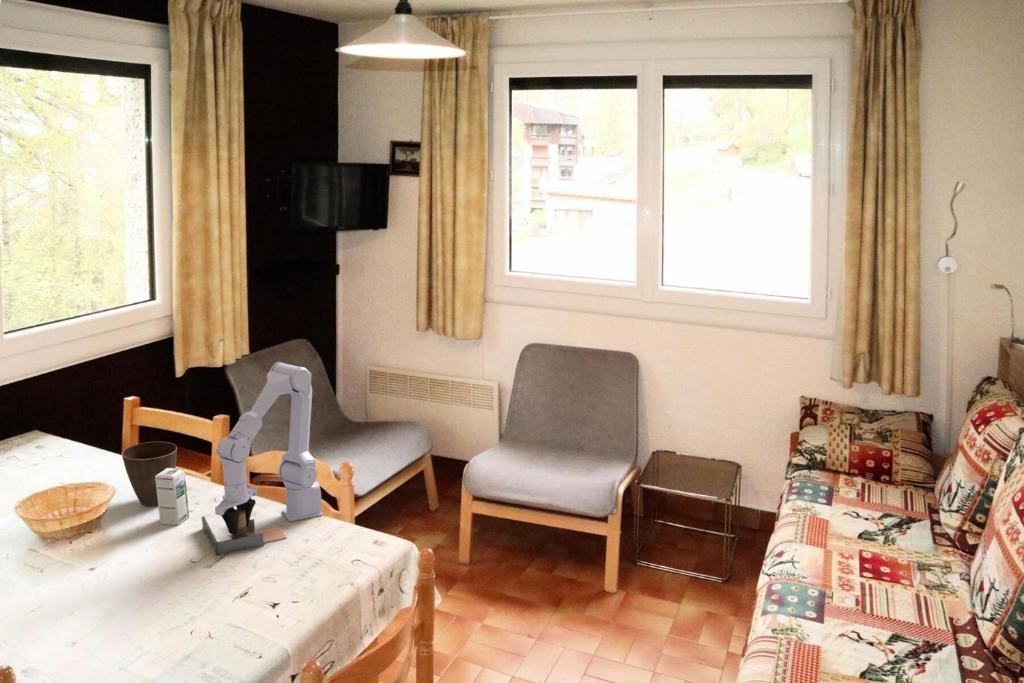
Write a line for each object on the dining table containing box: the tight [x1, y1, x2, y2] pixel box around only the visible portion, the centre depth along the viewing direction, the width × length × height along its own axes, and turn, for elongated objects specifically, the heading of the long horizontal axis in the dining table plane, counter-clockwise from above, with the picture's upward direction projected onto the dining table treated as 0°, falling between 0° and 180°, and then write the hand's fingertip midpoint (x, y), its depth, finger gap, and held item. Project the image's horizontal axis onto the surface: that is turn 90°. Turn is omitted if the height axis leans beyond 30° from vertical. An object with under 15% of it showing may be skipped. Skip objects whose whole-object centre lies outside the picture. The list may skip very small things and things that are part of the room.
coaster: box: [253, 526, 288, 544], centre depth 252 cm, size 7×7×1 cm
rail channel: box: [201, 516, 265, 557], centre depth 251 cm, size 12×18×4 cm
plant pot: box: [121, 441, 178, 508], centre depth 272 cm, size 15×15×16 cm
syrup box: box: [155, 467, 190, 526], centre depth 260 cm, size 6×6×14 cm
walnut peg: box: [230, 508, 248, 539], centre depth 248 cm, size 4×4×7 cm
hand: (238, 529), depth 248 cm, fingers closed on walnut peg, 4 cm apart
